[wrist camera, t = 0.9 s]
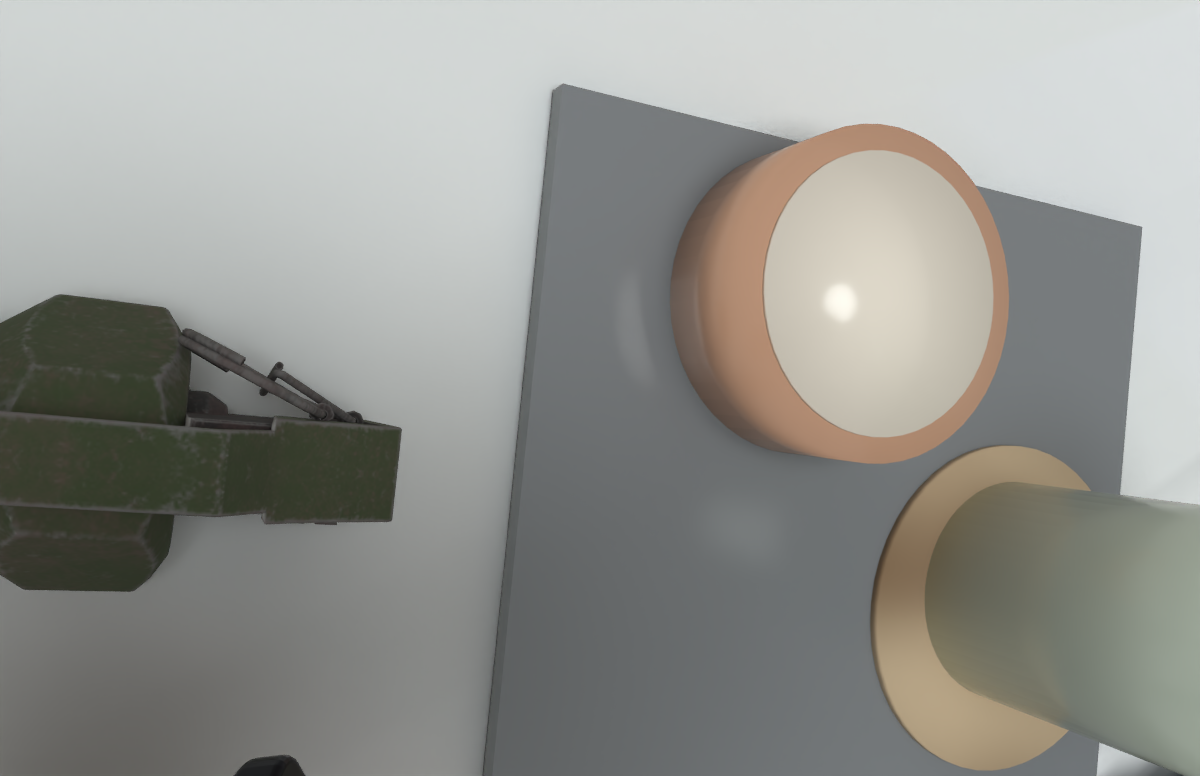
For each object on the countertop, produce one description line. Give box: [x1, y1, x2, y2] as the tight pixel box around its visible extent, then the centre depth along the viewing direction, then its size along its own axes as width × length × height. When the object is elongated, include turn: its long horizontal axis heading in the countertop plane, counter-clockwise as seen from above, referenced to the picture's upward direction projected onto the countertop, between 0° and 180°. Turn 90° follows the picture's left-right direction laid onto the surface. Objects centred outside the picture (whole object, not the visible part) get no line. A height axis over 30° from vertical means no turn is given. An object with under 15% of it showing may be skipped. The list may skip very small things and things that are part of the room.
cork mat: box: [870, 445, 1091, 771], centre depth 28 cm, size 9×9×1 cm
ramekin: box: [670, 124, 1009, 464], centre depth 23 cm, size 8×8×3 cm
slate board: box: [483, 84, 1142, 776], centre depth 26 cm, size 24×19×1 cm
